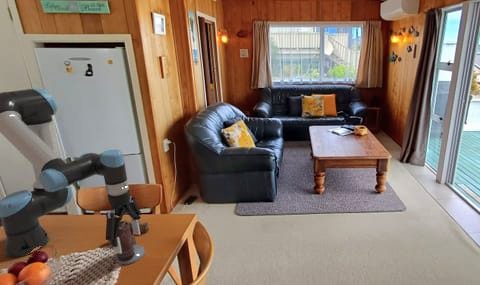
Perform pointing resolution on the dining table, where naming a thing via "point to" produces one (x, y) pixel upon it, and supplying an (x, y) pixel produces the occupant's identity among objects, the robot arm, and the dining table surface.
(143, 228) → the rack
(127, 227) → the can
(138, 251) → the coaster
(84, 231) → the dining table surface
